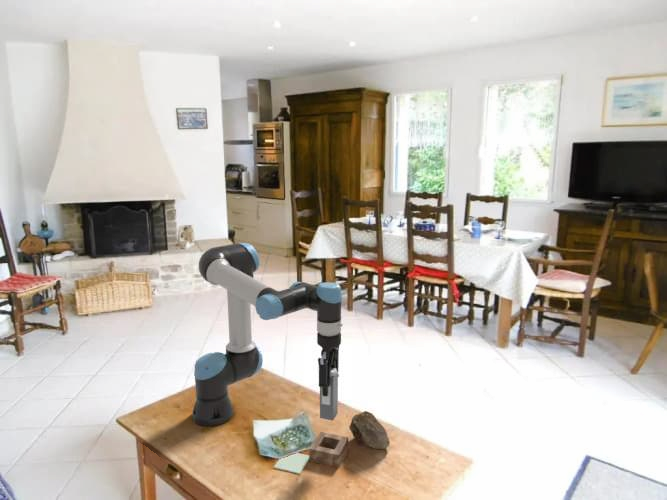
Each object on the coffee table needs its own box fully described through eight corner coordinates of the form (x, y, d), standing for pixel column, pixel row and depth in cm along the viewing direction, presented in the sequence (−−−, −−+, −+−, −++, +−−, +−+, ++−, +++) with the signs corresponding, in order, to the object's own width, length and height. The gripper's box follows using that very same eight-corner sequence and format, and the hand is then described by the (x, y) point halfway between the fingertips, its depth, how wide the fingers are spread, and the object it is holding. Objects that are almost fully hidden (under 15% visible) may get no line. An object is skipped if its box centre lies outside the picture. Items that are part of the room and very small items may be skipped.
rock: (404, 426, 160) (370, 395, 162) (397, 441, 154) (362, 410, 156) (381, 445, 168) (349, 416, 170) (373, 460, 162) (340, 430, 164)
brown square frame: (309, 461, 154) (309, 448, 153) (320, 443, 163) (320, 431, 162) (338, 467, 150) (338, 455, 150) (348, 449, 160) (348, 437, 159)
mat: (273, 468, 150) (273, 466, 150) (285, 451, 159) (285, 450, 159) (299, 474, 147) (299, 473, 147) (310, 457, 156) (310, 455, 156)
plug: (318, 418, 153) (318, 372, 149) (324, 410, 157) (324, 365, 154) (333, 421, 151) (333, 375, 148) (338, 413, 156) (338, 368, 152)
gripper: (330, 344, 139) (330, 416, 144) (349, 323, 155) (348, 389, 160) (307, 340, 141) (307, 411, 146) (327, 321, 157) (327, 385, 162)
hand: (328, 399), depth 153 cm, fingers closed on plug, 4 cm apart
